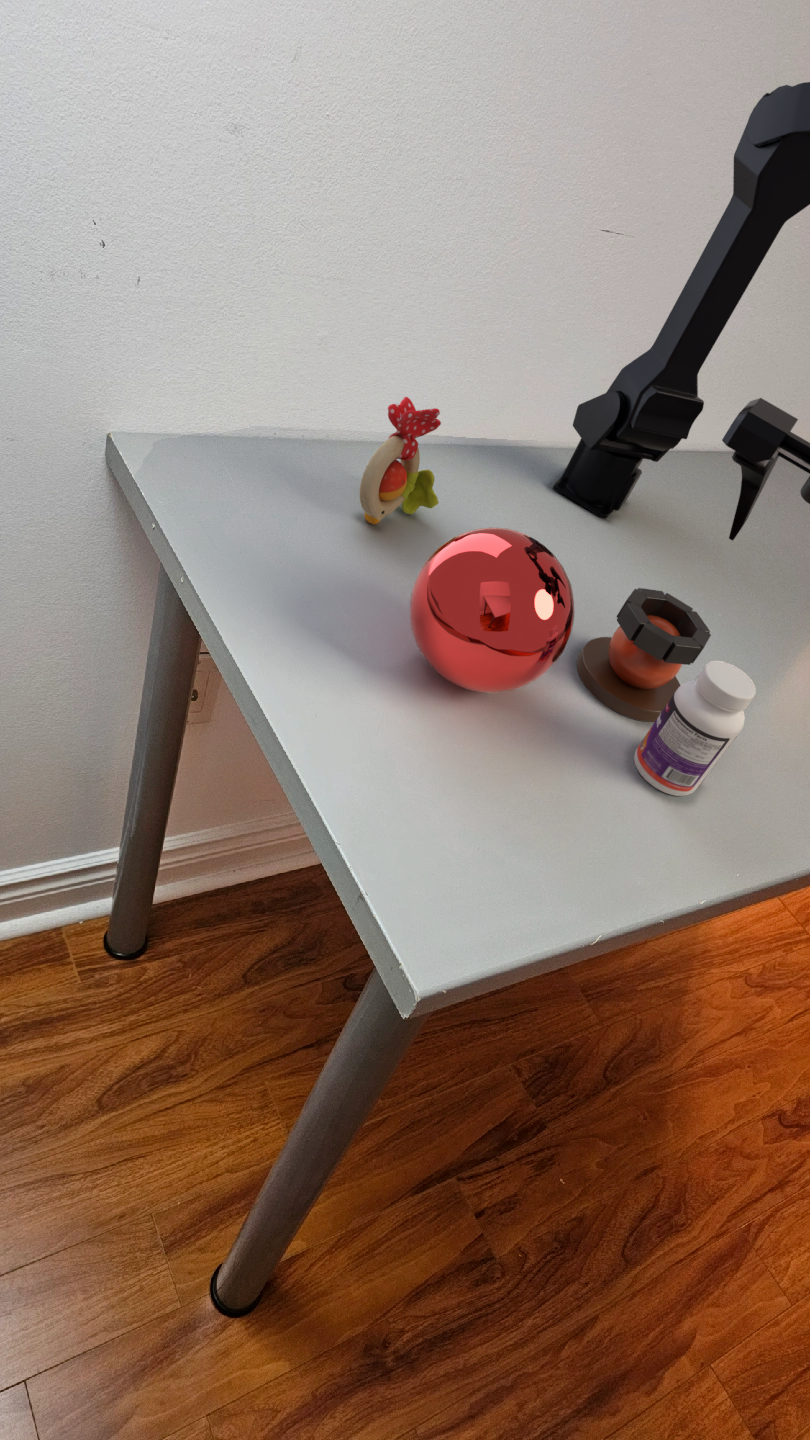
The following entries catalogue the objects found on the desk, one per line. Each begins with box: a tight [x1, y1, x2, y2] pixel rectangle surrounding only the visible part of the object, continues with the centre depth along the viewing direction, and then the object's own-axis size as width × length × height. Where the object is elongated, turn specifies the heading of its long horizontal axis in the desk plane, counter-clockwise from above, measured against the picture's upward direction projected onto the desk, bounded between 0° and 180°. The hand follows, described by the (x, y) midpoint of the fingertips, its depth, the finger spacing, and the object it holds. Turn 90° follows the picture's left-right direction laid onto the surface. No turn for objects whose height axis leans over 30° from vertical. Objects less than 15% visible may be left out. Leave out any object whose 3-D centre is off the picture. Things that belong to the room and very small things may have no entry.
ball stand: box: [576, 615, 683, 723], centre depth 86 cm, size 9×9×6 cm
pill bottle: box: [633, 660, 757, 797], centre depth 78 cm, size 5×5×10 cm
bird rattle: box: [359, 396, 442, 525], centre depth 91 cm, size 6×11×9 cm
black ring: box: [616, 587, 712, 666], centre depth 84 cm, size 7×7×2 cm
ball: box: [409, 526, 575, 694], centre depth 77 cm, size 12×12×12 cm
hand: (780, 567), depth 86 cm, fingers open, 9 cm apart
